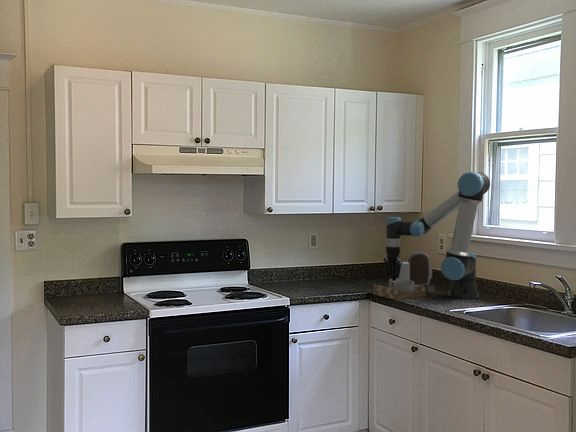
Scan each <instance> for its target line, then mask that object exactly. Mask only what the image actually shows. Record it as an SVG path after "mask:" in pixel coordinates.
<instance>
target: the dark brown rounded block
mask: <svg viewBox="0 0 576 432" xmlns="http://www.w3.org/2000/svg"><path fill="white" fill-rule="evenodd" d="M431 261H432V260H431V258H430V255H428V253H426V252H424V251H421V250H418V251H414V252H412V253H411V254H410V255H408V260H407V262H408V263H409V264H410V280H411V281H414V285H418V286H423V287H426V286H428V285H430V282H431V279H432V278H433V273H434V272H433V270H432V262H431Z"/></svg>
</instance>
